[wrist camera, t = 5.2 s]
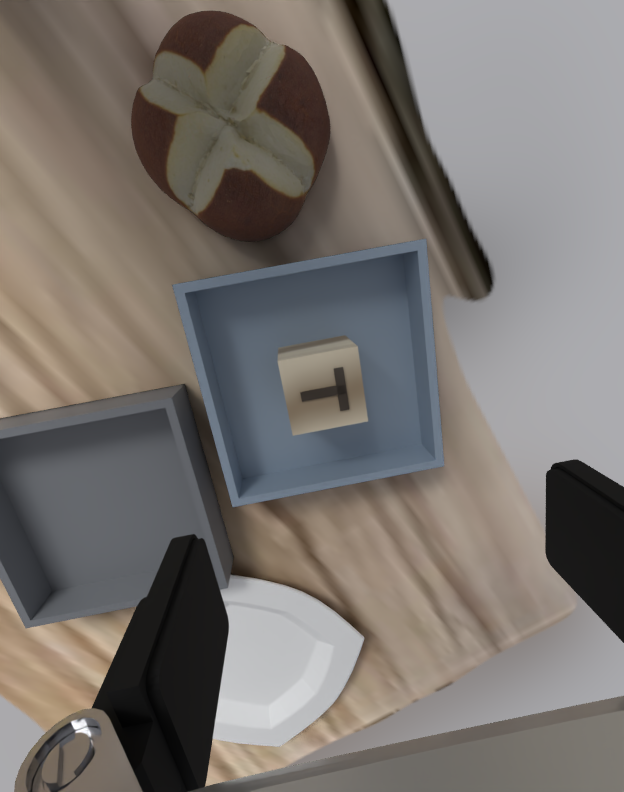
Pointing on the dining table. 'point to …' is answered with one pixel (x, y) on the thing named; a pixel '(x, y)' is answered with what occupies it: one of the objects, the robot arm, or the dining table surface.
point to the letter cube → (322, 384)
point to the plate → (279, 662)
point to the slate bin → (304, 322)
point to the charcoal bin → (102, 503)
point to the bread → (231, 125)
